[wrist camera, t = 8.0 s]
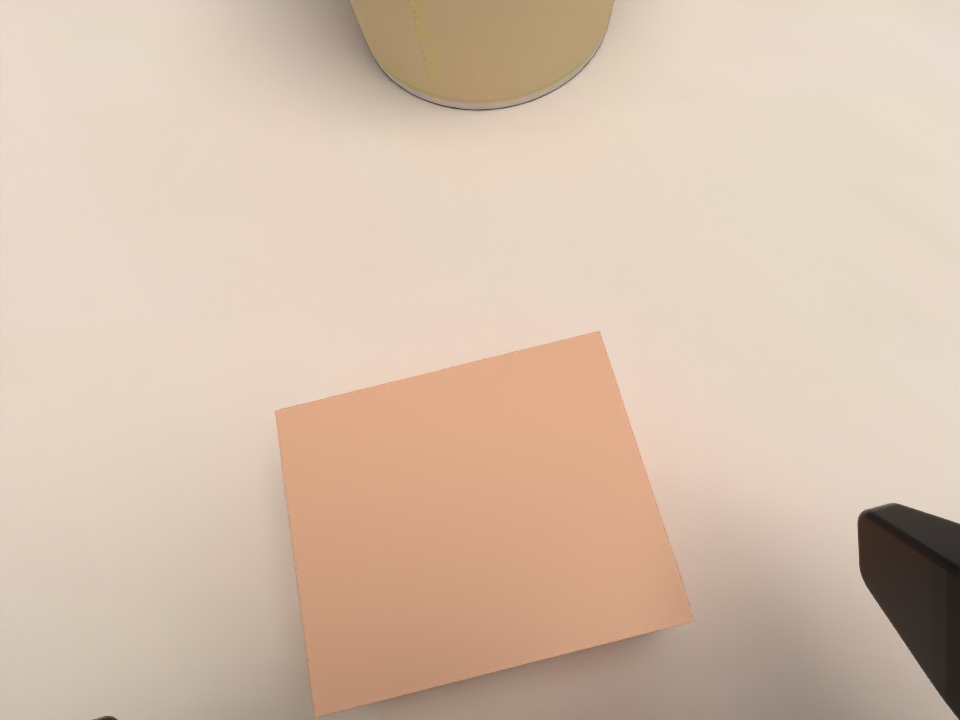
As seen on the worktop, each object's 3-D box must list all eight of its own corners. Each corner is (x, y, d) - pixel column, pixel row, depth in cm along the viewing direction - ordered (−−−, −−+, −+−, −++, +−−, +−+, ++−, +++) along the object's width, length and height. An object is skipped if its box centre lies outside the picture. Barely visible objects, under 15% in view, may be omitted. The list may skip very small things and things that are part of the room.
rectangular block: (657, 628, 16) (695, 621, 12) (368, 701, 15) (314, 717, 12) (586, 398, 18) (599, 330, 14) (330, 461, 17) (275, 410, 14)
